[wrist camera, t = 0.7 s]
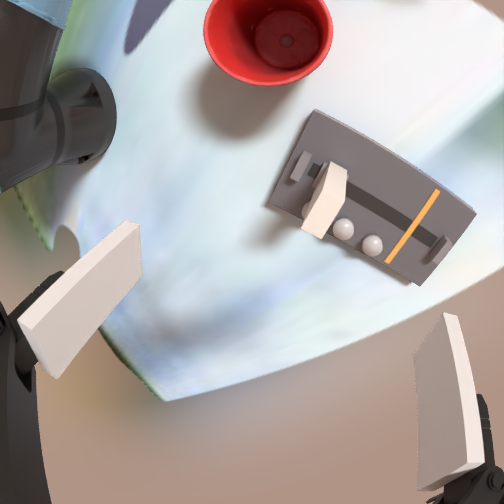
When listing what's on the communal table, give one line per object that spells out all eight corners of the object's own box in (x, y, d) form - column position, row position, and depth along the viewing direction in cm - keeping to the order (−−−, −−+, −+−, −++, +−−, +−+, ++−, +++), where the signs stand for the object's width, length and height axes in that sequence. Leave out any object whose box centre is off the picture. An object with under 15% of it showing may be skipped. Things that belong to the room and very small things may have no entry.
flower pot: (302, 104, 32) (285, 112, 24) (222, 54, 31) (181, 49, 23) (356, 32, 26) (358, 14, 18) (271, -17, 25) (243, -45, 17)
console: (272, 195, 39) (265, 207, 36) (315, 108, 32) (311, 111, 29) (418, 277, 38) (421, 294, 35) (471, 207, 31) (481, 219, 28)
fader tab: (310, 188, 35) (295, 225, 27) (326, 157, 32) (317, 186, 24) (334, 201, 34) (326, 242, 27) (351, 171, 32) (350, 204, 24)
